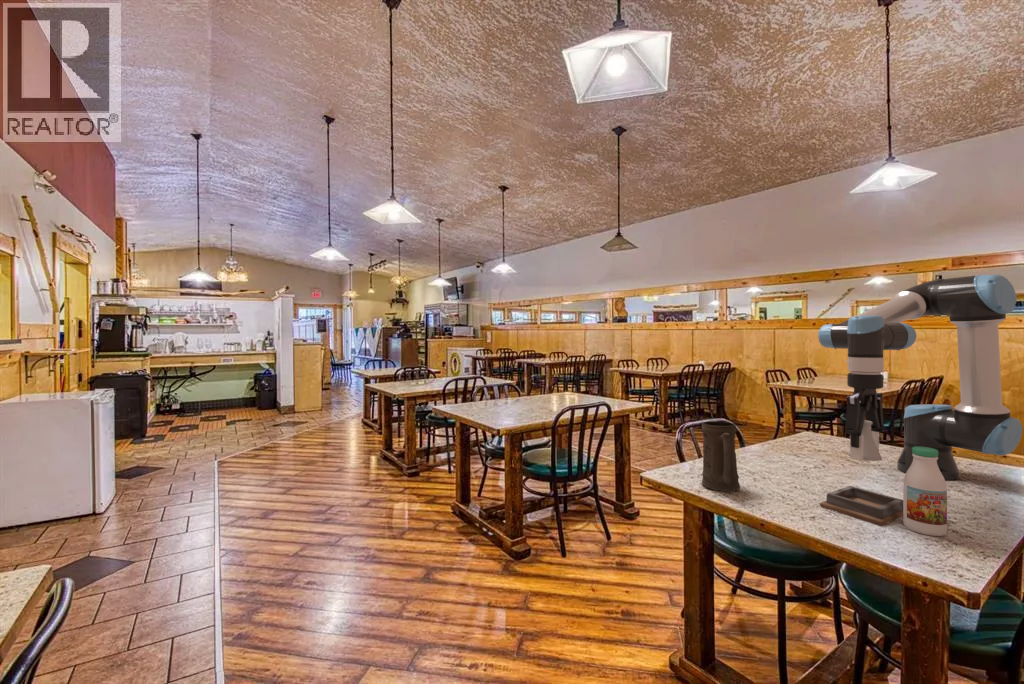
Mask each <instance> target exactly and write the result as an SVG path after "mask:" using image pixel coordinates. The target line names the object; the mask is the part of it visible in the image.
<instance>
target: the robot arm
mask: <svg viewBox="0 0 1024 684" xmlns="http://www.w3.org/2000/svg"><path fill="white" fill-rule="evenodd" d="M1016 304H1017V293H1016V290H1015V287H1014V285H1013V284H1012V282H1011V281H1010V280H1009V279H1008V278H1007V277H1005V276H1003V275H1001V274H977V275H970V276H959V277H951V278H950V277H949V278H940V279H939V278H938V279H937V278H936V279H933V280H930V281H929V280H928V281H925V282H922V283H920V284H917V285H914V286H911V287H910V288H907V289H904V290H902V291H899V292H898V293H896V294H895V295H894V296H892V298H891V299H890V300H888V301H886V302H883V303H882V304H879V305H877V306H875V307H872V308H871V309H868V310H865V312H862V313H859V314H858V315H852V316H850V317H849V318H848V319H846V320H844V321H841V322H840V323H827V324H823V325H822V326H821V327H820V328H819V330H818V333H817V338H818V342H819V343H820V345H821V346H822V347H824V348H828V349H835V350H836V349H847V359H846V361H845V362H846V363H847V371H849V373H847V379H846V381H847V382H846V383H847V386H848V387H850V388H853V393H852V395H847V396H846V415H845V426H844V427H845V428H844V432H845V434H846V435H847V434H848V435H849V450H850V456H849V459H851V460H856V461H860V462H862V461H864V460H863V436H861V434H862V429H863V424H864V420H866V421H871V422H873V424H872V425H871V431H872V436H873V439H874V441H875V444H876V446H877V449H878V451H879V452H880V433H883V432H884V431H885V429H884V425H885V424H884V414H883V410H884V409H883V393H882V392H878V391H877V390H879V389H883V388H884V375H883V374H882V373H884V371H885V370H884V368H885V367H884V366H885V365H884V364H885V363H884V351H900V350H906V349H908V348H910V347H912V346H913V345H914V343H915V342H916V340H917V332H916V330H915V328H914V327H913V326H912V325H910V324H908V323H904V321H907V320H916V319H918V318H921V317H930V316H932V317H933V316H949V323H950V324H952V325H954V326H955V327H956V334H957V336H956V337H957V351H958V352H957V353H958V371H959V373H958V375H959V390H960V392H959V394H960V403H958V404H956V405H955V406H954V407H953V406H952V405H951V404H941V403H940V404H936V403H935V404H930V403H928V404H927V403H926V404H909V405H907V406H906V407H905V408H904V414H903V425H904V426H903V427H904V430H903V433H904V435H903V436H904V437H903V441H904V442H903V449H902V451H901V453H900V455H899V457H898V459H897V462H896V463H897V464H896V466H897V467H896V468H897V470H899V471H901V472H903V473H905V474H906V472H907V470H908V469H909V467H910V466H911V464H912V462H913V456H912V454H913V453H912V448H913V447H915V446H921V447H929V448H933V449H936V450H938V459H937V465H938V467H939V470H940V472H941V473H942V475H943V477H944V479H945V481H947V480H949V481H952V480H957V479H959V478H960V470H959V467H958V465H957V462H956V460H955V457H954V455H953V449H952V448H955V449H956V448H957V449H963V450H968V451H974V452H978V453H982V454H984V455H994V456H1006V455H1009V454H1011V453H1012V452H1014V450H1016V449H1017V446H1018V445H1019V444H1020V441H1021V439H1022V435H1023V424H1022V423H1021V421H1020V420H1019V419H1017V418H1015V417H1013V416H1011V409H1009V408H1008V407H1006V406H1005V405H1004V404H1003V395H1002V393H1003V392H1002V378H1001V376H1002V375H1001V374H1002V372H1001V353H1000V351H1001V350H1000V336H999V335H1000V333H999V331H1000V330H999V325H1000V324H1001V323H1003V322H1004V321H1006V319H1007V318H1006V315H1007V314H1011V313H1012V312H1013V311H1014V310H1015V308H1016Z"/></svg>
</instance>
